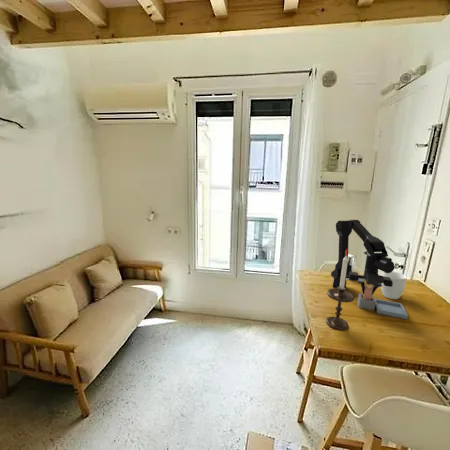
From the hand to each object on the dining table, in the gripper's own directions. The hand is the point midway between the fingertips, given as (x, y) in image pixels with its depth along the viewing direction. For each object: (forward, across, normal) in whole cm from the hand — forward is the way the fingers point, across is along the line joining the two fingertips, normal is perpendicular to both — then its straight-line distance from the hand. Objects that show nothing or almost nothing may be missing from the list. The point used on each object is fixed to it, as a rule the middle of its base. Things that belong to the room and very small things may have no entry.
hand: (367, 294), depth 133 cm
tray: (+6, +10, 0) cm, 12 cm away
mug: (+7, +15, +19) cm, 25 cm away
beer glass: (+7, -6, +37) cm, 38 cm away
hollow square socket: (+6, 0, 0) cm, 6 cm away
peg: (+6, 0, 0) cm, 6 cm away
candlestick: (+7, -14, -23) cm, 28 cm away
